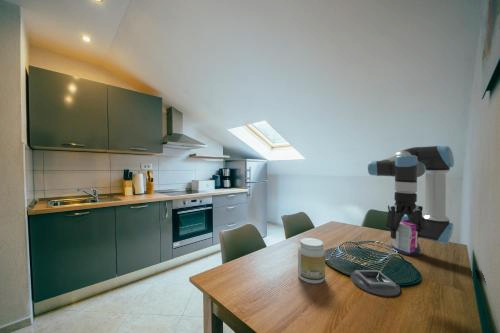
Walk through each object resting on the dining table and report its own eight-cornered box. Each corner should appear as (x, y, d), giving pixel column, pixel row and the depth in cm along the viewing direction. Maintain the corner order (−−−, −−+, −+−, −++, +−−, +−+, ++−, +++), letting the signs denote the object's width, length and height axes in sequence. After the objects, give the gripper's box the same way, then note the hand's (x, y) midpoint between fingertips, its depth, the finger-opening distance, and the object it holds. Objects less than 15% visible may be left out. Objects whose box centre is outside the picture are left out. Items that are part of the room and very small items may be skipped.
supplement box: (409, 254, 83) (409, 225, 83) (393, 249, 88) (393, 222, 88) (416, 251, 86) (416, 223, 86) (400, 246, 91) (400, 220, 91)
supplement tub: (330, 282, 93) (331, 245, 93) (306, 286, 89) (307, 247, 89) (314, 269, 104) (315, 236, 104) (293, 272, 101) (293, 238, 101)
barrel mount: (380, 272, 103) (380, 266, 103) (411, 296, 84) (412, 289, 84) (343, 272, 102) (343, 266, 102) (366, 296, 83) (366, 289, 83)
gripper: (420, 191, 91) (419, 242, 92) (376, 190, 90) (375, 243, 90) (436, 193, 84) (435, 249, 84) (389, 193, 83) (387, 250, 83)
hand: (404, 246), depth 87 cm, fingers closed on supplement box, 7 cm apart
